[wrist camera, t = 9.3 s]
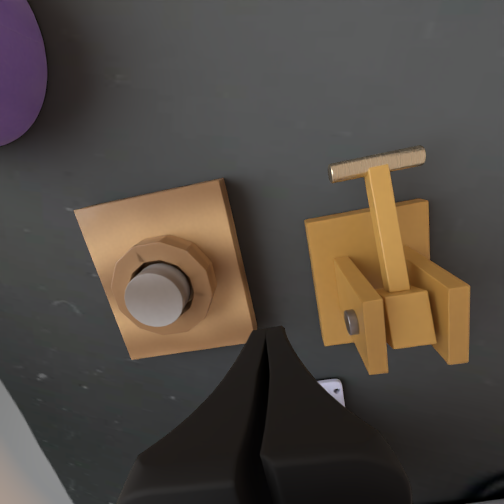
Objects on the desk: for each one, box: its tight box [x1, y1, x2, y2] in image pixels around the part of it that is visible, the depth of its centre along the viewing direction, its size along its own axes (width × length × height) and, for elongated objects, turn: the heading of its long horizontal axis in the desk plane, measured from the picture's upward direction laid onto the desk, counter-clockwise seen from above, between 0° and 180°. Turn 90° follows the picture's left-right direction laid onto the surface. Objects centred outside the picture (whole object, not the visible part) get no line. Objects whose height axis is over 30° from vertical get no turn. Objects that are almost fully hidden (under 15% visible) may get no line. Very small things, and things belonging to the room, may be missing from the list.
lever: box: [328, 145, 437, 349], centre depth 16 cm, size 10×5×2 cm, turn 11°
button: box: [124, 263, 190, 327], centre depth 18 cm, size 4×4×2 cm
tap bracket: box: [304, 198, 470, 375], centre depth 18 cm, size 10×8×8 cm
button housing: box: [74, 178, 257, 360], centre depth 21 cm, size 12×10×4 cm
